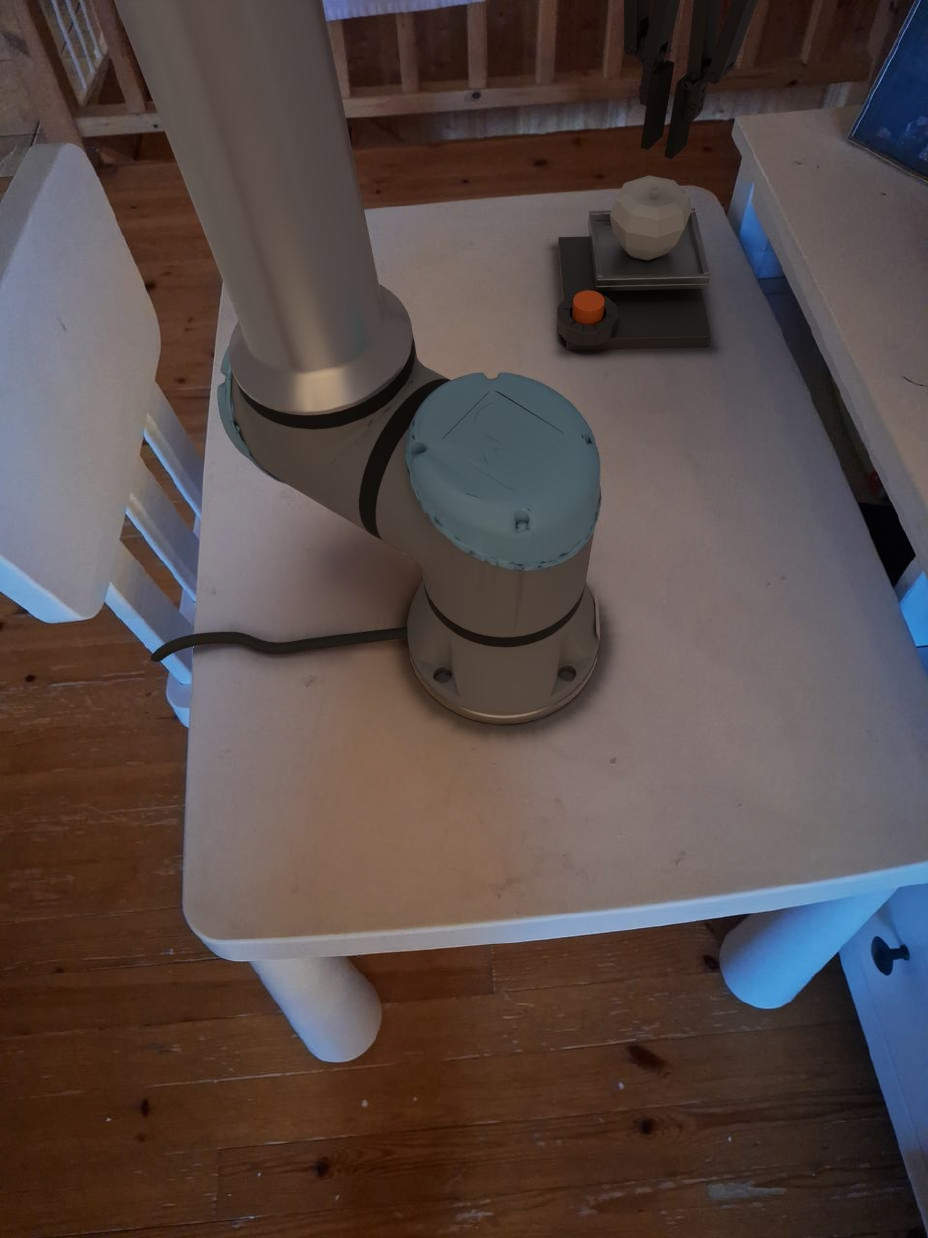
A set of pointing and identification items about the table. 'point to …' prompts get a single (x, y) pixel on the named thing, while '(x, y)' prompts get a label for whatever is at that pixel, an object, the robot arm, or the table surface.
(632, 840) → the table surface
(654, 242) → the apple
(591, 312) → the tare button
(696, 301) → the scale
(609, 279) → the scale pan
